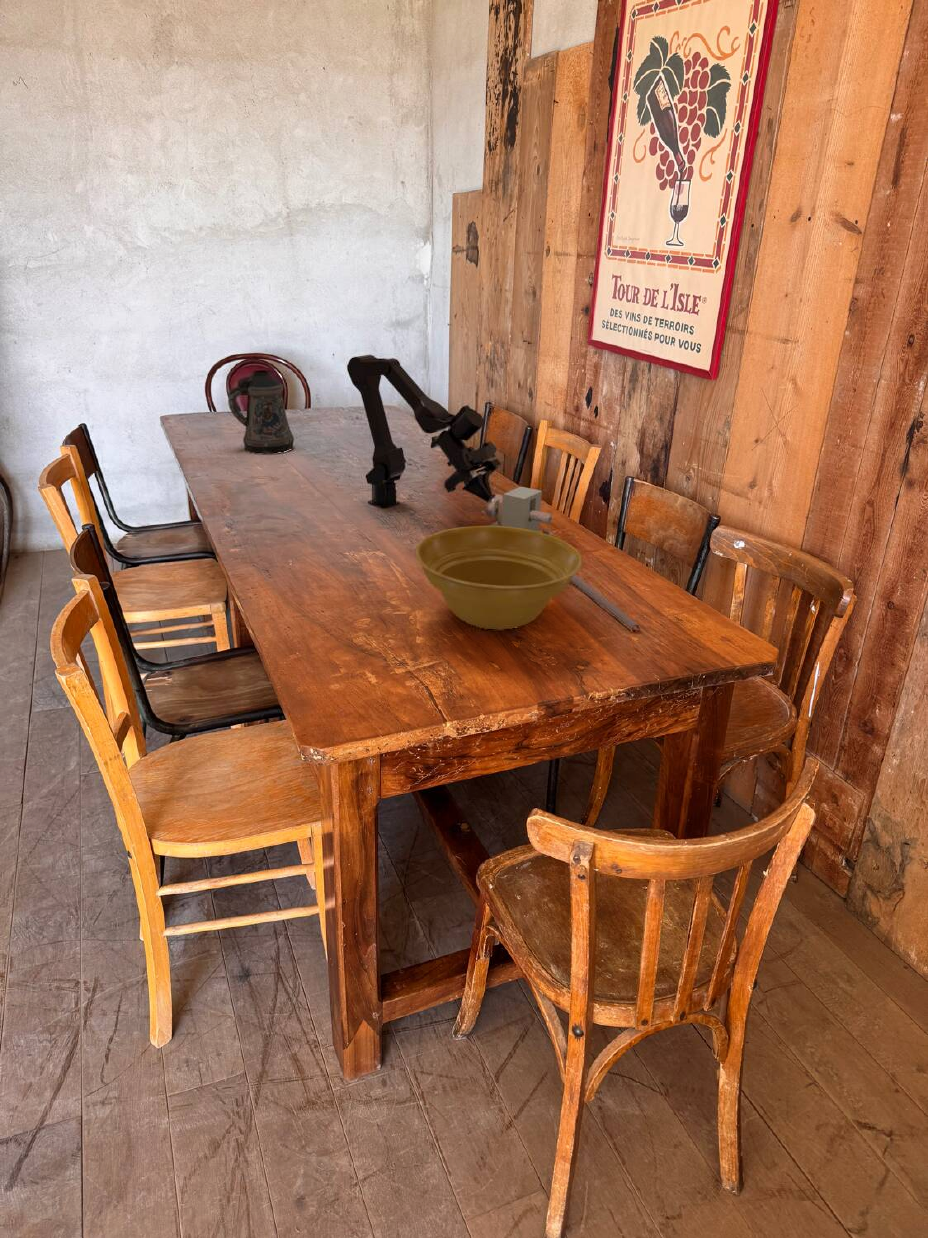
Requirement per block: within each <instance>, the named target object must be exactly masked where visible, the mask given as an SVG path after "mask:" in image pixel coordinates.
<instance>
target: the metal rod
mask: <svg viewBox="0 0 928 1238" xmlns="http://www.w3.org/2000/svg"><path fill="white" fill-rule="evenodd" d="M570 581H571V582H572V583H571V582H570V583H571V584H572V585H574V584H575V585H576V586H578V587H579V588H580V589H581V590H582V591H584V592H585V593H586V594H587V595H588V596H590V597H591V598H592V599H593V600H595V601H596V602H598V603H599V604H600V605H602V606H603V607H604V608H605V609H606V610H608V611H609V612H610V613H611V614H612V615H614V616H615V617H616V618H617V619H619V620H620V621H621V622H622V623H623V624H626V626H628V627H629V628H630V629H632V630H633V627H634V626H636V627H637V628H638V629H641V626H640V625H639V624H638V623H637V622H636V621H635V620H633V619H632V618H631V617H629V616H628V615H627V614H626V613H625V612H624V611H622V610H620V608H619V607H617V606H616V605H614V604H613V603H612V602H611V601H610V600H608V599H607V598H606V597H604V596H603V595H602V594H601V593H600V592H598V591H597V590H596V589H594V587H592V585H590V584H588V583H587V582H586V581H584V580H583V579H582V578H581V577H580V576H579V575H577V573H576V574H575V575H573V577H572V578H571V580H570ZM575 585H574V586H575ZM576 586H575V587H576ZM578 587H577V588H578ZM579 588H578V589H579ZM580 589H579V590H580ZM581 590H580V591H581ZM582 591H581V592H582ZM584 592H583V593H584ZM585 593H584V594H585ZM586 594H585V595H586ZM587 595H586V596H587ZM588 596H587V597H588ZM590 597H589V598H590ZM591 598H590V599H591ZM592 599H591V600H592ZM593 600H592V601H593ZM596 602H595V603H596Z"/></svg>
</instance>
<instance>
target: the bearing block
mask: <svg viewBox="0 0 928 1238" xmlns="http://www.w3.org/2000/svg"><path fill="white" fill-rule="evenodd" d="M502 496H503V504H502V521H501V523H498V520H497V521H495V522H493V523H491V524H489V525H488V526H504V527H514V528H521V529H527V530H532V531H537V532H540V533H544V534H547V535H550V536H553V537H554V534H553V533H551V532H550V530H549V529H543V530H540V523H541V522H539V521H535V520H531V519H529V509H531V510H536V511H540V512H541V509H542V497H543V492H542V490H538V489H535V488H530V487H526V486H525V487H524V486H519V487H516V488H514V489H512V490H509V491H507V492H505V493H502Z"/></svg>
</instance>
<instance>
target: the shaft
mask: <svg viewBox="0 0 928 1238" xmlns="http://www.w3.org/2000/svg"><path fill="white" fill-rule="evenodd" d="M501 501H503V494H497V493H492V496H491V497H490V498H489V500H488V502H486V503H487V504H486V514H487V517H488V518H492V519H495V520H498V511H499V502H501ZM552 518H553V517H552V514H551V513H549V512H543V511H541V510H540V511H536V510H531V509H529V519H531V520H535V521H539V522H540V523H545V524H550V523H551V521H552Z"/></svg>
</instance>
